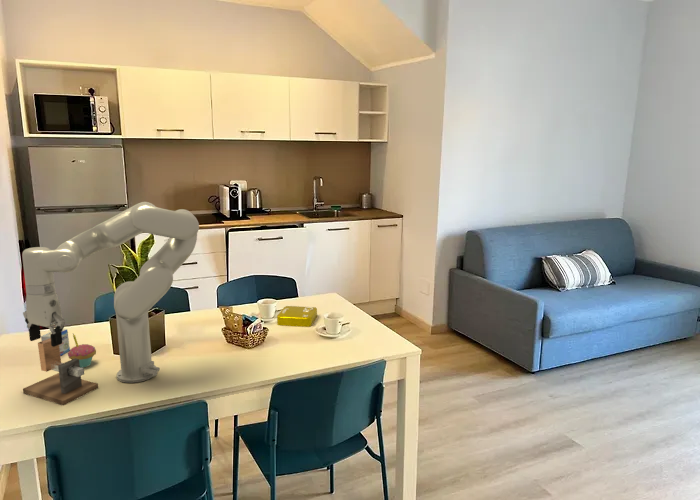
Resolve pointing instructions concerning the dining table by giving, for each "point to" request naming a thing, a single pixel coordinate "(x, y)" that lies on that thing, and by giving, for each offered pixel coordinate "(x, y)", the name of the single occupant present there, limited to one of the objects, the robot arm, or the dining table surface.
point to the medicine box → (65, 341)
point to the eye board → (55, 390)
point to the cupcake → (82, 353)
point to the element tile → (297, 316)
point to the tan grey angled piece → (54, 359)
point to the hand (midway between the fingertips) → (46, 342)
